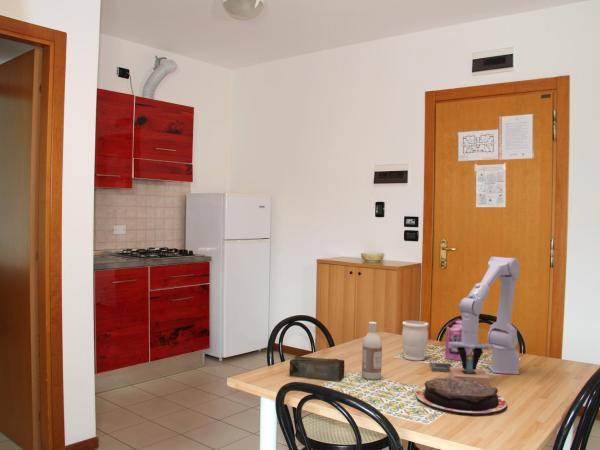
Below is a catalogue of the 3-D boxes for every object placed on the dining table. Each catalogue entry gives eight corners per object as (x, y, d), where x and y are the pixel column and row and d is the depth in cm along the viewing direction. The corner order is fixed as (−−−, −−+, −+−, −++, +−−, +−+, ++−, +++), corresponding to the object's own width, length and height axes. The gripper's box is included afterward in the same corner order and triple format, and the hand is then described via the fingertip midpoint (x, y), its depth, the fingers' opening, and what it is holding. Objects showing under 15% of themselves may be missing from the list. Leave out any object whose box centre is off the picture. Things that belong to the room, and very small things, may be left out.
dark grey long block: (295, 371, 196) (295, 353, 196) (345, 376, 190) (345, 358, 190) (288, 376, 188) (289, 358, 188) (340, 382, 183) (341, 364, 183)
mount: (450, 366, 206) (450, 363, 206) (453, 372, 198) (453, 369, 198) (429, 365, 207) (429, 362, 207) (431, 371, 199) (432, 368, 199)
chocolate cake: (437, 382, 186) (438, 364, 186) (518, 400, 169) (519, 380, 169) (399, 402, 165) (400, 381, 165) (488, 425, 147) (488, 402, 147)
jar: (425, 355, 222) (426, 320, 222) (429, 362, 212) (430, 325, 212) (400, 354, 223) (401, 319, 223) (402, 361, 213) (403, 324, 213)
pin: (471, 373, 190) (472, 354, 190) (474, 376, 187) (474, 356, 187) (463, 373, 190) (463, 354, 190) (466, 376, 187) (466, 356, 187)
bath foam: (370, 381, 184) (371, 325, 184) (357, 376, 190) (359, 321, 190) (385, 378, 188) (386, 323, 188) (372, 373, 194) (373, 320, 194)
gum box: (463, 362, 213) (464, 329, 213) (443, 359, 217) (444, 327, 217) (473, 350, 234) (474, 320, 234) (455, 348, 238) (456, 318, 238)
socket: (482, 376, 194) (482, 368, 194) (489, 386, 182) (490, 378, 182) (449, 374, 195) (449, 366, 195) (454, 384, 183) (454, 376, 183)
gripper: (451, 332, 185) (450, 370, 185) (493, 334, 183) (492, 373, 184) (448, 328, 192) (447, 365, 192) (488, 330, 190) (487, 367, 191)
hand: (469, 368), depth 188 cm, fingers closed on pin, 3 cm apart
